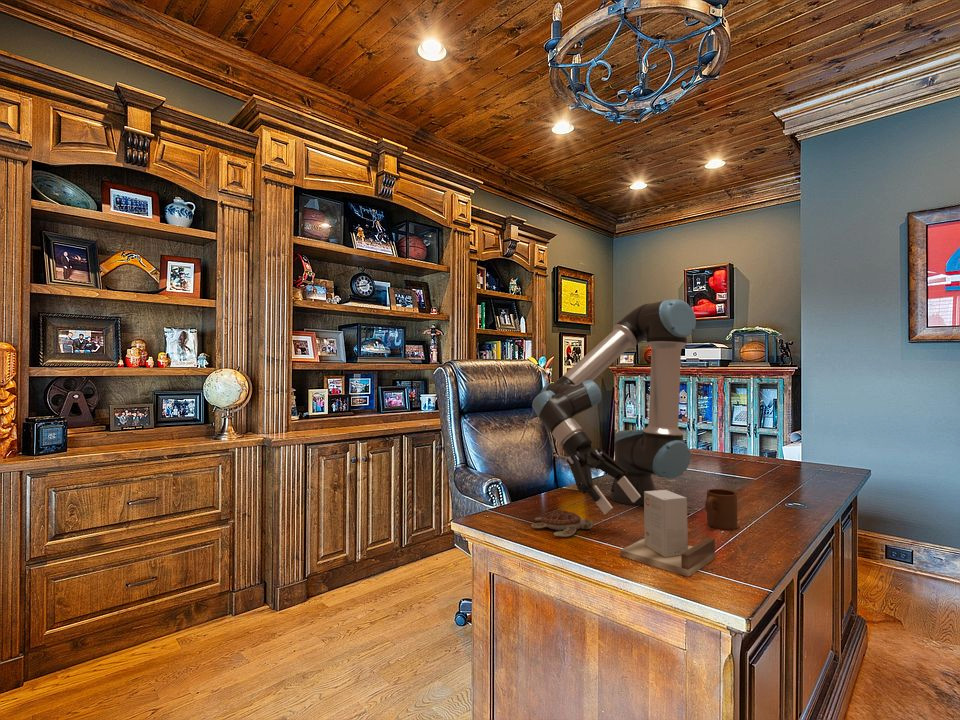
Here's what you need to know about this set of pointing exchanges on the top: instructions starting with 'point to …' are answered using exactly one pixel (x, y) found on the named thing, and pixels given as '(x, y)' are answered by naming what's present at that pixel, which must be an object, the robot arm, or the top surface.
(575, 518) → the decorative turtle
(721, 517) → the mug
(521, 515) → the top surface
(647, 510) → the small box
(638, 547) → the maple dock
